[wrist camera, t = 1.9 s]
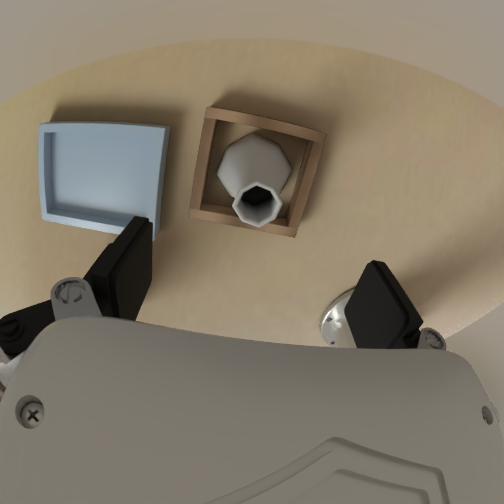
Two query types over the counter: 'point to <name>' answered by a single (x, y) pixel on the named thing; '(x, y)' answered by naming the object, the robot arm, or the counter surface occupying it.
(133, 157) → the tray
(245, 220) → the flask
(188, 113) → the counter surface
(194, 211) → the holder
